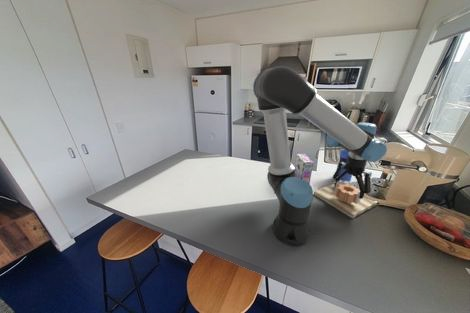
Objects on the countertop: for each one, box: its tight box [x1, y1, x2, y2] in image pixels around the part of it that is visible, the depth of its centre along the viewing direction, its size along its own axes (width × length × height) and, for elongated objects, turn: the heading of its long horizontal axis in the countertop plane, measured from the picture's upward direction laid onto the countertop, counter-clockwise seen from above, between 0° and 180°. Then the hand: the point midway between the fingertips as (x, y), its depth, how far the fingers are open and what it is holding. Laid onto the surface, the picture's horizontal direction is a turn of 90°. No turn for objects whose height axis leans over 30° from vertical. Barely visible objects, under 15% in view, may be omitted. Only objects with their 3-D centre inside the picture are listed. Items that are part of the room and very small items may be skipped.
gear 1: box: [334, 180, 356, 188], centre depth 99 cm, size 10×10×5 cm
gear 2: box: [335, 184, 360, 204], centre depth 88 cm, size 10×10×5 cm
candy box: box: [294, 153, 314, 185], centre depth 110 cm, size 14×6×16 cm, turn 179°
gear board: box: [313, 182, 378, 219], centre depth 95 cm, size 24×22×8 cm
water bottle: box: [336, 148, 353, 183], centre depth 111 cm, size 9×9×25 cm
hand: (346, 197), depth 89 cm, fingers closed on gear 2, 10 cm apart
